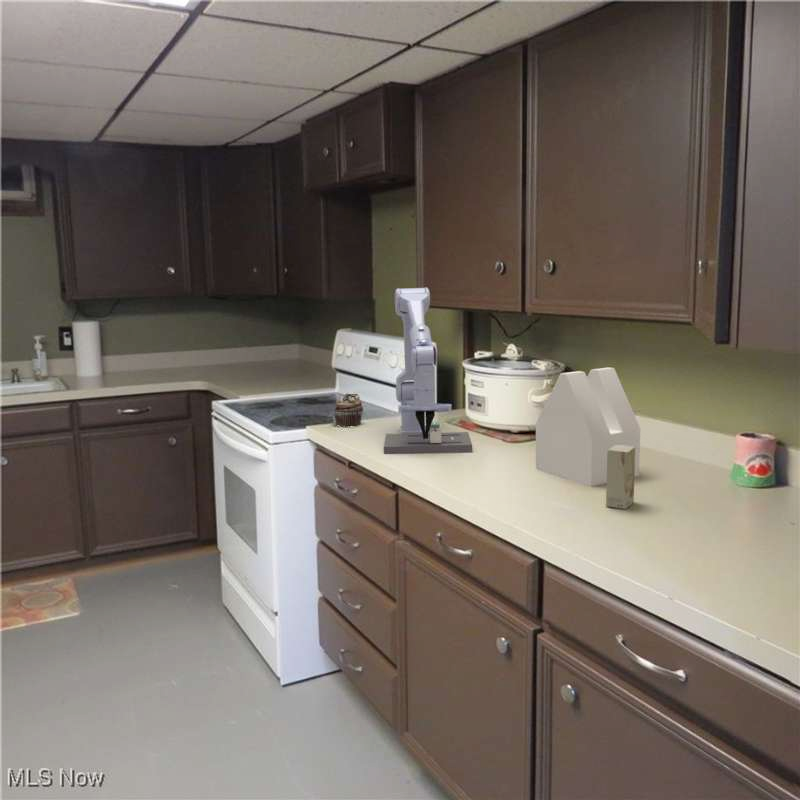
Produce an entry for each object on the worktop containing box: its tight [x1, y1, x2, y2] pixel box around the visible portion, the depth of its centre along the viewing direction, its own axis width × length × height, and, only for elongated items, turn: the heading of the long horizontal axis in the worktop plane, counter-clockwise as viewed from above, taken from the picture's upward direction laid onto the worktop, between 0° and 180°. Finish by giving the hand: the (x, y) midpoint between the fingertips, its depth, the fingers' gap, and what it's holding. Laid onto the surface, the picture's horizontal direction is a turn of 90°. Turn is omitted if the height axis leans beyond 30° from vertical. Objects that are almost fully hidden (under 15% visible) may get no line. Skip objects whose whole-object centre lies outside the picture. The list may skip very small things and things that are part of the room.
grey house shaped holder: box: [535, 366, 641, 488], centre depth 186 cm, size 19×15×25 cm
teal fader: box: [429, 421, 441, 436], centre depth 222 cm, size 4×3×3 cm
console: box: [383, 431, 473, 455], centre depth 218 cm, size 16×24×2 cm, turn 89°
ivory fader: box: [430, 427, 442, 443], centre depth 213 cm, size 4×3×3 cm
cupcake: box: [333, 393, 364, 428], centre depth 249 cm, size 10×10×10 cm
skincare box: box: [605, 445, 635, 510], centre depth 162 cm, size 6×4×12 cm
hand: (425, 438), depth 213 cm, fingers closed
